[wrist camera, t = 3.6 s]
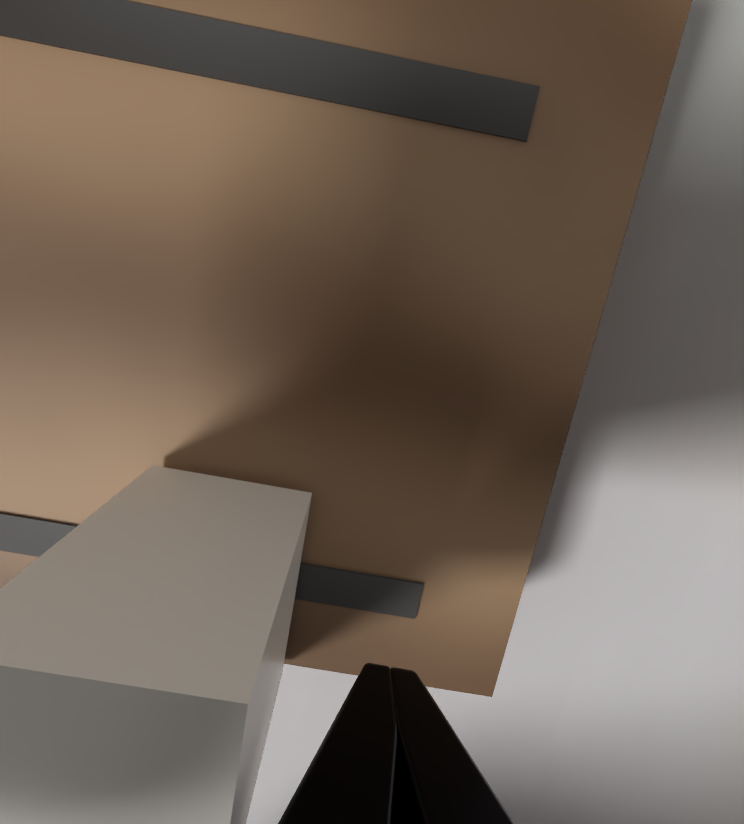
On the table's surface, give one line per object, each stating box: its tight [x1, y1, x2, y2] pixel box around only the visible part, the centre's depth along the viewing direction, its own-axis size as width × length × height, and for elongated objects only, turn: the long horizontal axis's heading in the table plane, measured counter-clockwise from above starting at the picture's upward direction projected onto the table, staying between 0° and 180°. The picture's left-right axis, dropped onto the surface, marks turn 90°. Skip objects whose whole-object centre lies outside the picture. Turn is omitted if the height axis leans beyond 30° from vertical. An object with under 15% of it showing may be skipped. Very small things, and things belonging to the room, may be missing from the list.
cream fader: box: [0, 465, 312, 824], centre depth 8 cm, size 4×3×5 cm
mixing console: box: [0, 0, 692, 697], centre depth 10 cm, size 13×22×3 cm, turn 80°
